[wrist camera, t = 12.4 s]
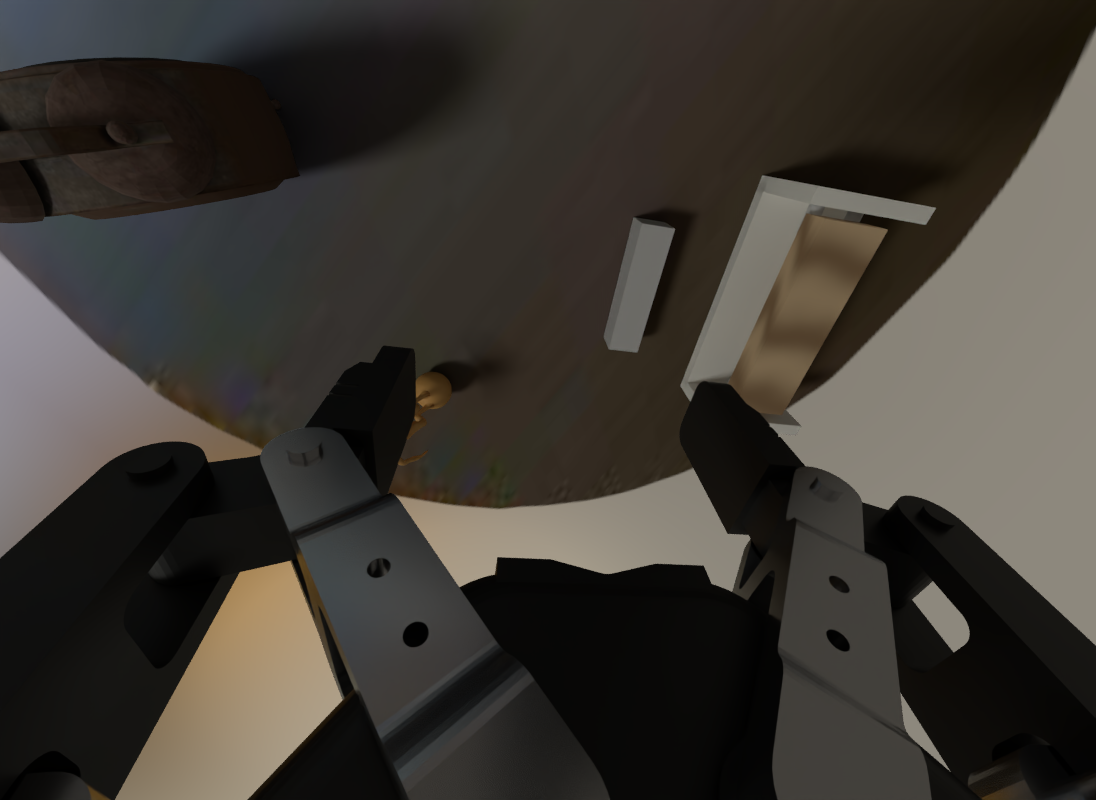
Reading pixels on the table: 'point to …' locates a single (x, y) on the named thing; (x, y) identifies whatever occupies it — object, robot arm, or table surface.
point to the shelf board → (802, 308)
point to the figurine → (428, 402)
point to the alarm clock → (134, 138)
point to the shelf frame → (772, 271)
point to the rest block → (637, 283)
